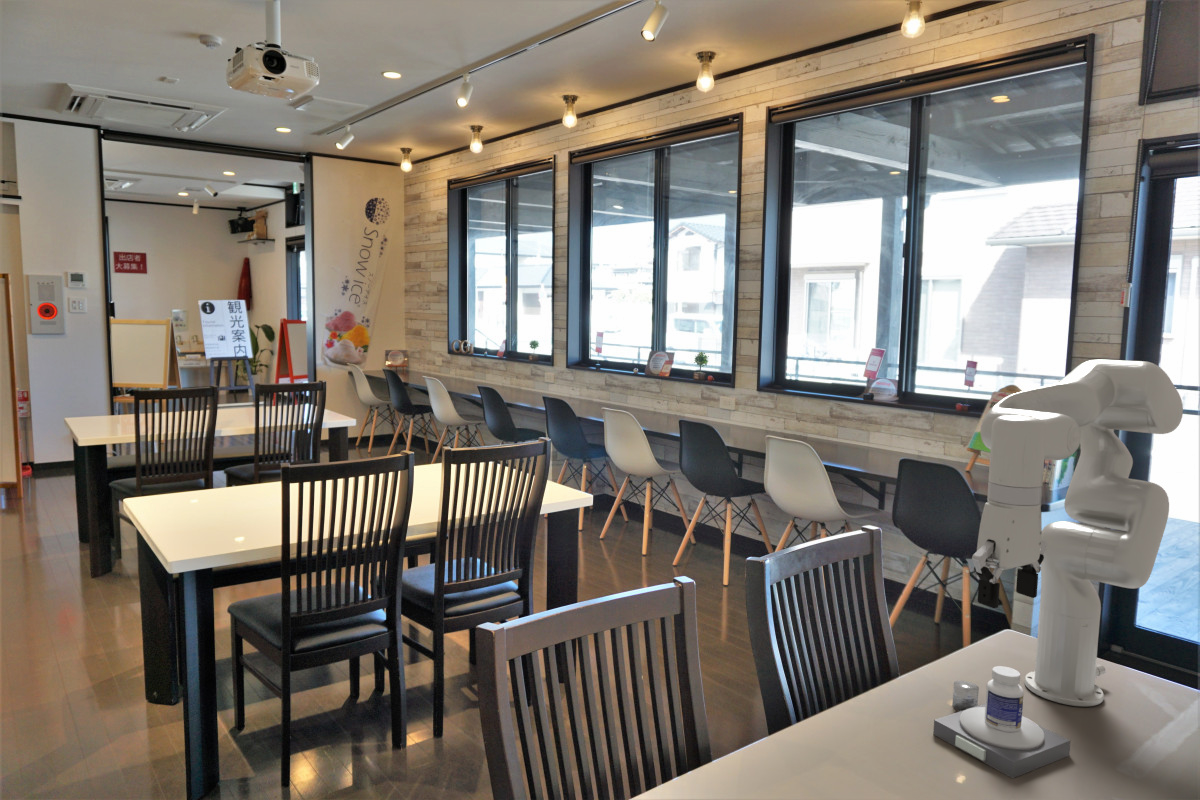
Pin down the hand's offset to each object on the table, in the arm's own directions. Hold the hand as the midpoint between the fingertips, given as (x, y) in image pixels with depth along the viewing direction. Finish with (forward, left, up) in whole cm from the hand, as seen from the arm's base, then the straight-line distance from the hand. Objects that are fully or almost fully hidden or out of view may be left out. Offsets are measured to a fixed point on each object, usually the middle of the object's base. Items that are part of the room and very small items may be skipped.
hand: (1007, 600), depth 126 cm
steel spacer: (-5, -10, -24) cm, 26 cm away
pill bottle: (+1, +1, -20) cm, 20 cm away
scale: (+1, +1, -23) cm, 23 cm away
